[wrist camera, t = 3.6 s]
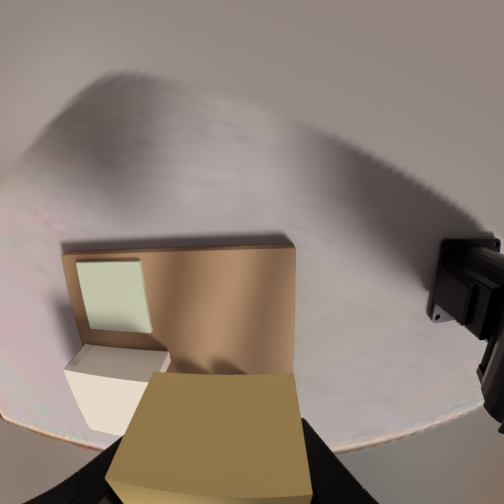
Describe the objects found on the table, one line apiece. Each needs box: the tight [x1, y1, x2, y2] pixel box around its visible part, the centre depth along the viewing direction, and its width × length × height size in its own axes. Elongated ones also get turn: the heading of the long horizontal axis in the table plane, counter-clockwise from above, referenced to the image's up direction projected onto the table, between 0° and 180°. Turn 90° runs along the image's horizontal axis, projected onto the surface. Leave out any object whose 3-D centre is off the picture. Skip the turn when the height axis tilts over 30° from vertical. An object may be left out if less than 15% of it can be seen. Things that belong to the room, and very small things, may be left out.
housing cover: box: [63, 344, 171, 436], centre depth 18 cm, size 7×6×4 cm
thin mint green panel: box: [76, 260, 153, 333], centre depth 18 cm, size 5×5×1 cm
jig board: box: [61, 244, 296, 375], centre depth 19 cm, size 16×13×3 cm
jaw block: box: [105, 372, 313, 504], centre depth 6 cm, size 4×4×4 cm
